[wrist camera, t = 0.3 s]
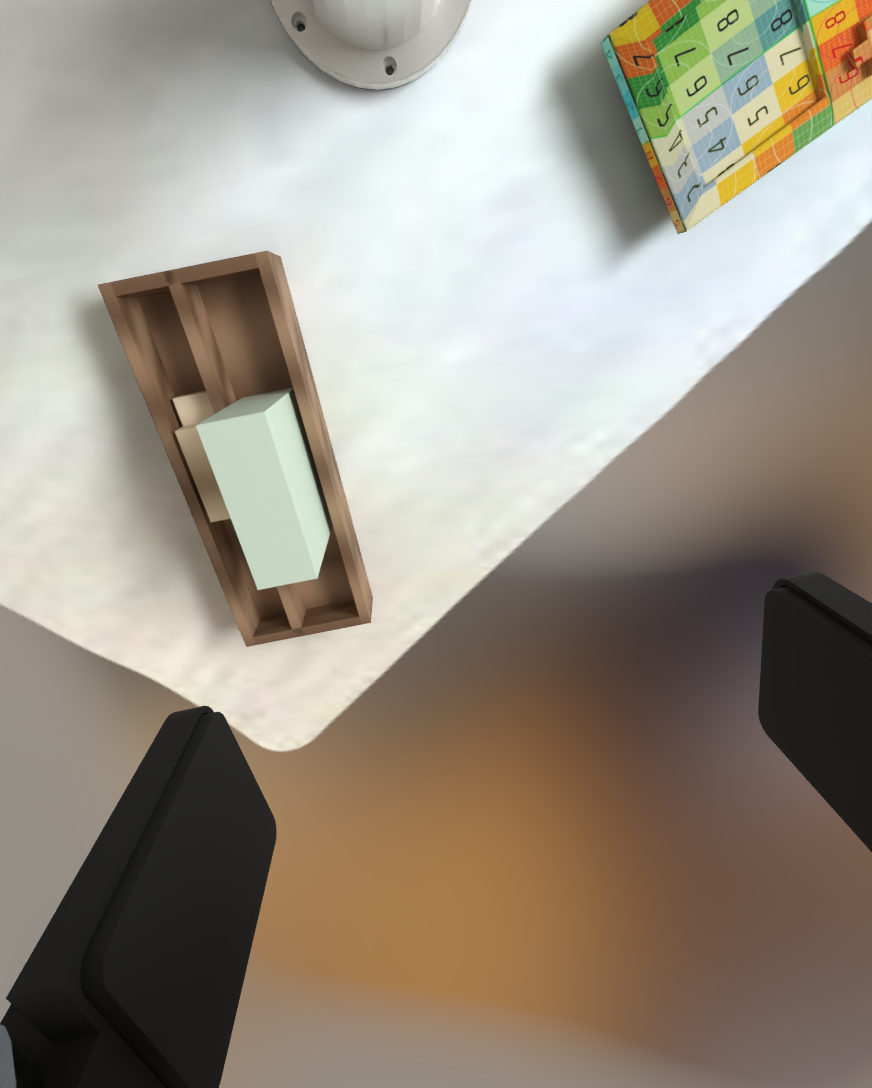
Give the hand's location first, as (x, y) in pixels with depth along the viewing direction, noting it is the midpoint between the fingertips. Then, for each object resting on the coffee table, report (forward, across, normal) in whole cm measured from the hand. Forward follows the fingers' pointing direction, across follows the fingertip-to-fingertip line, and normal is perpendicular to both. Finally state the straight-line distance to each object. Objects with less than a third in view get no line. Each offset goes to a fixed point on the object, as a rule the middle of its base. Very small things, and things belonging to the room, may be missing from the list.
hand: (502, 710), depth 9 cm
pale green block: (+34, +11, +2) cm, 36 cm away
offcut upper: (+32, +16, +1) cm, 36 cm away
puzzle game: (+35, -27, -17) cm, 47 cm away
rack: (+35, +13, +2) cm, 37 cm away
